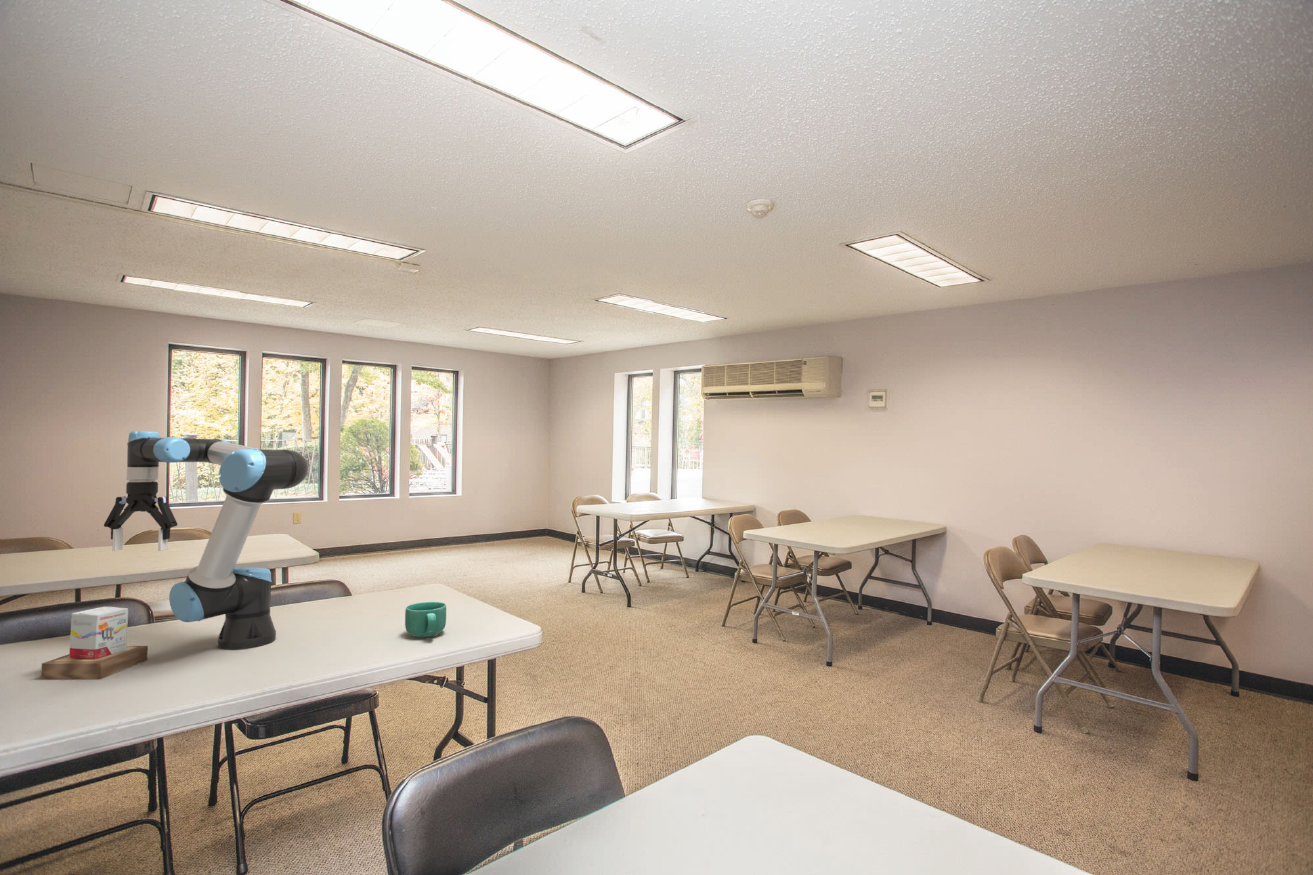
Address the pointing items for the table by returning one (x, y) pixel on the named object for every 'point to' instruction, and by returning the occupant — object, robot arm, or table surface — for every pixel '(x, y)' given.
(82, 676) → the riser
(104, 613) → the ink box
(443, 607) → the mug
